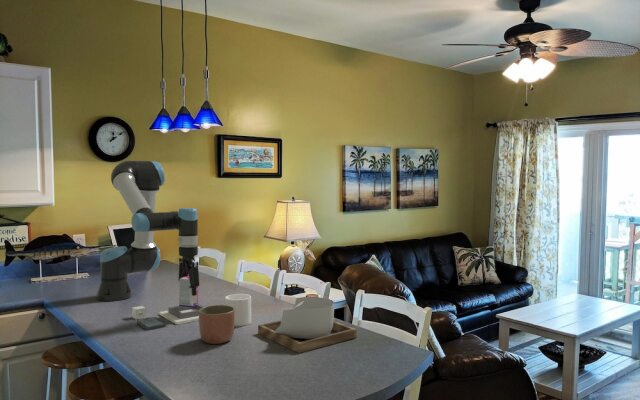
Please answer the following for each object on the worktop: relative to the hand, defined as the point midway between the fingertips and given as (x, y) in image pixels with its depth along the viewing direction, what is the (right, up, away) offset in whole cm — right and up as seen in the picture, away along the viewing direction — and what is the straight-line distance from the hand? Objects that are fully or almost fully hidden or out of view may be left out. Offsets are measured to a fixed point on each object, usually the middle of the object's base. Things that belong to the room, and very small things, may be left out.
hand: (188, 301), depth 204 cm
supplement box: (0, -2, 0) cm, 2 cm away
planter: (+18, -8, -30) cm, 36 cm away
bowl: (+49, -7, -25) cm, 55 cm away
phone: (-11, -7, -13) cm, 18 cm away
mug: (+21, -7, -8) cm, 24 cm away
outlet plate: (0, -6, 0) cm, 6 cm away
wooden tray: (+49, -7, -24) cm, 55 cm away
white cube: (-20, -6, -2) cm, 21 cm away
